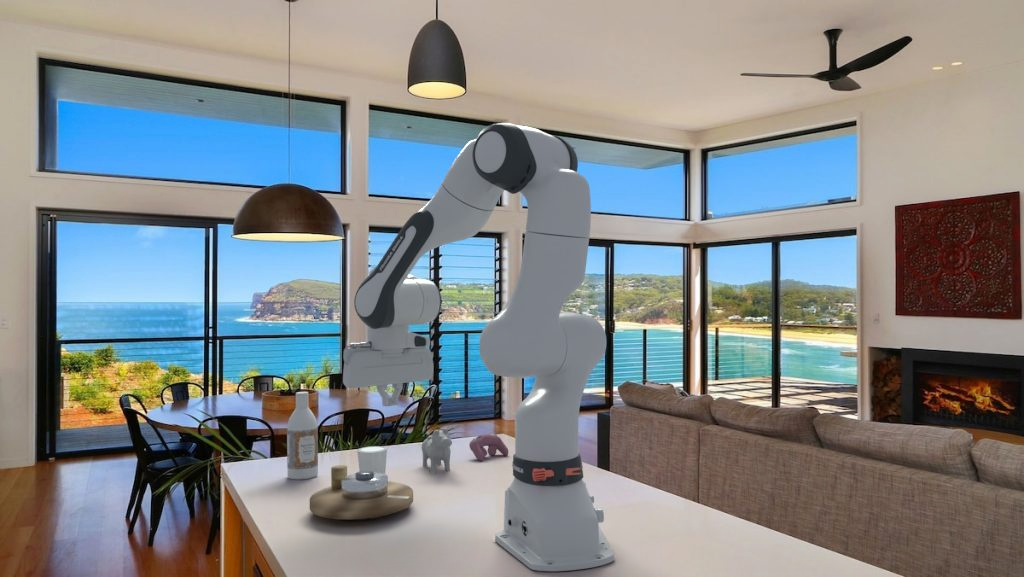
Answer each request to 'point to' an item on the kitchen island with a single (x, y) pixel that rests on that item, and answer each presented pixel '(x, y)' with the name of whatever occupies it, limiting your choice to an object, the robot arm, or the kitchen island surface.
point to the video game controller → (487, 440)
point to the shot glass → (372, 459)
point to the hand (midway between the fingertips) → (390, 405)
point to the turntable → (339, 507)
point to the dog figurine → (437, 449)
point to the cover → (364, 485)
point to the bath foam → (302, 441)
